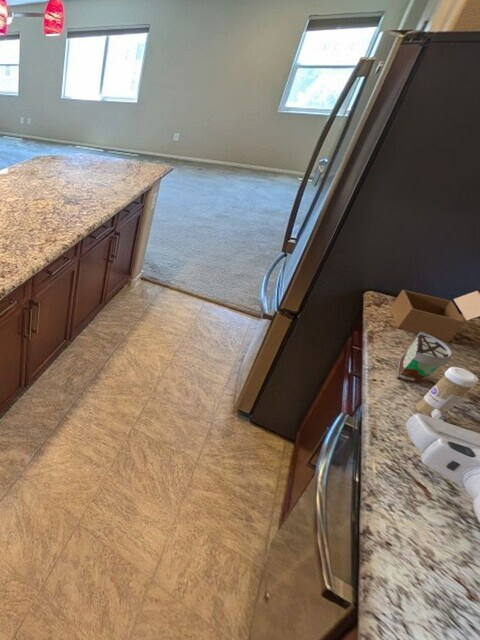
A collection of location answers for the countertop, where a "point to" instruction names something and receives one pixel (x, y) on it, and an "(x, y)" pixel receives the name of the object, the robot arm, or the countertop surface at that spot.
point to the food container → (422, 358)
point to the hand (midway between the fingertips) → (470, 423)
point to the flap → (469, 305)
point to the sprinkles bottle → (447, 391)
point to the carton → (426, 315)
